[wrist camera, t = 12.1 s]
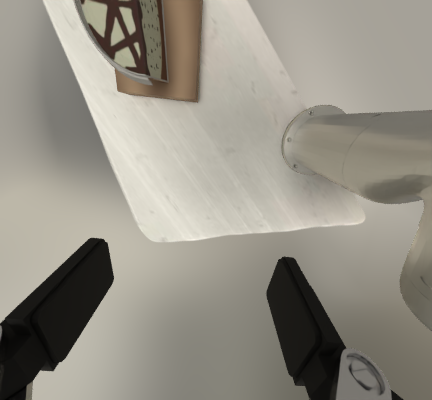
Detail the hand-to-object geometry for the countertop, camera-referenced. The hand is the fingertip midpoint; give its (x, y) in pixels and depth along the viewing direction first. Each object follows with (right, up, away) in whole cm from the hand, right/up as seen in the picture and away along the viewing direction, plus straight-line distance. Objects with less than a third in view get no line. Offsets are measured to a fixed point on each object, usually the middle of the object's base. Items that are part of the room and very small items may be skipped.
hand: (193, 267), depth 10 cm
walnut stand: (-7, +28, +18) cm, 34 cm away
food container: (-9, +26, +15) cm, 31 cm away
